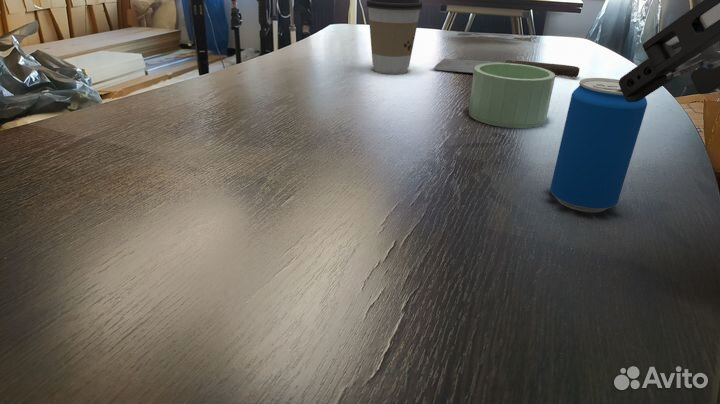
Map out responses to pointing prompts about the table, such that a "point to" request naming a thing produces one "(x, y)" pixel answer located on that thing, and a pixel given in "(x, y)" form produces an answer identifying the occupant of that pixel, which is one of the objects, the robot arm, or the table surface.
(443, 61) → the cleaver
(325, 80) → the table surface
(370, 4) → the coffee cup
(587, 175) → the beverage can
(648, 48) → the robot arm
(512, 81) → the canister
